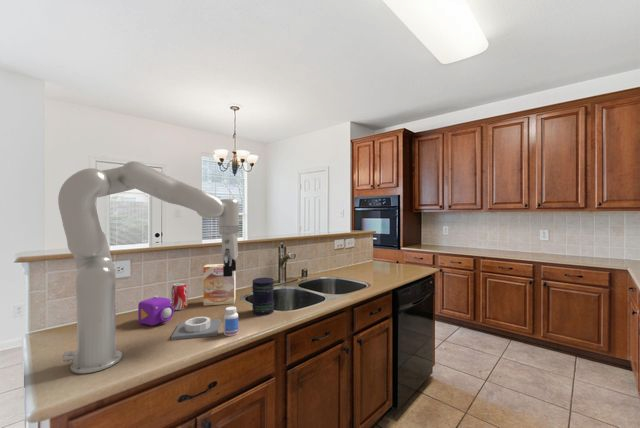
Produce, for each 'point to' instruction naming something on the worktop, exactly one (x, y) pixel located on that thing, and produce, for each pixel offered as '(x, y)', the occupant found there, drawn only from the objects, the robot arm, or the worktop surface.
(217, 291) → the coffeecake box
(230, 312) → the pill bottle
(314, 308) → the worktop surface
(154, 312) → the toy camera
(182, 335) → the mount board
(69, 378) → the worktop surface
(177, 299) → the soda can
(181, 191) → the robot arm
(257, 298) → the storage jar
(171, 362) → the worktop surface
